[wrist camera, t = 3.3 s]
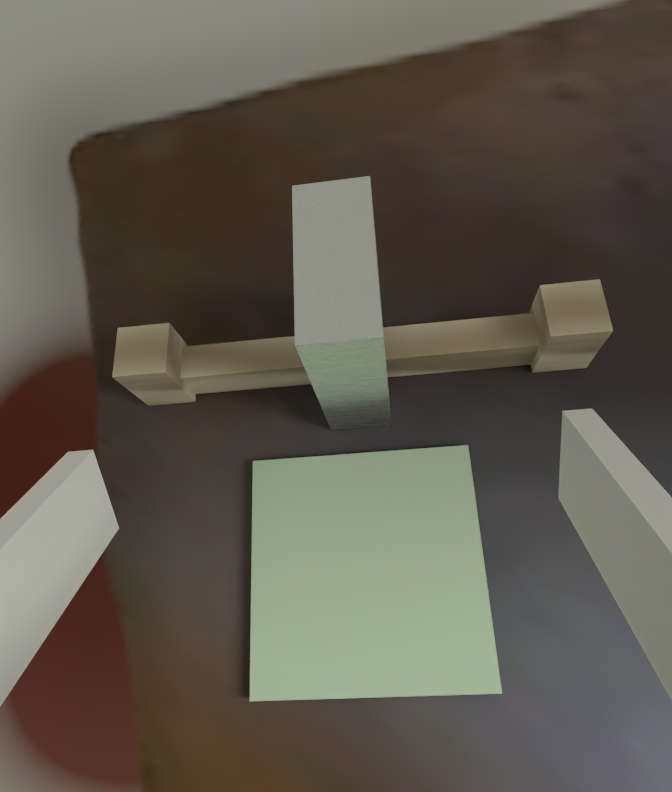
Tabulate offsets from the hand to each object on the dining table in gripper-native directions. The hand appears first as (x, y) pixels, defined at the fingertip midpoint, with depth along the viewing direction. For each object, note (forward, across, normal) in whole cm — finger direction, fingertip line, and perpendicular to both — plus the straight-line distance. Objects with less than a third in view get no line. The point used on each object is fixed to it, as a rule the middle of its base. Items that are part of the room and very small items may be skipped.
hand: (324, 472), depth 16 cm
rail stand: (+18, 0, -3) cm, 18 cm away
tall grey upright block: (+18, 0, -3) cm, 18 cm away
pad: (+10, 0, -12) cm, 15 cm away
